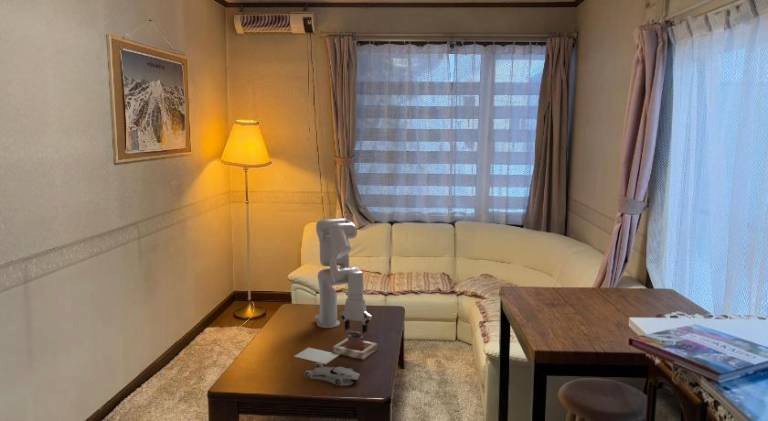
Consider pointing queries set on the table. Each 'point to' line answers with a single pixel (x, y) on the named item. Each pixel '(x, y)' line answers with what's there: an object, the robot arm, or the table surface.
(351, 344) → the lighter
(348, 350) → the slot holder
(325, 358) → the mat
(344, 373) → the car model
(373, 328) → the table surface
